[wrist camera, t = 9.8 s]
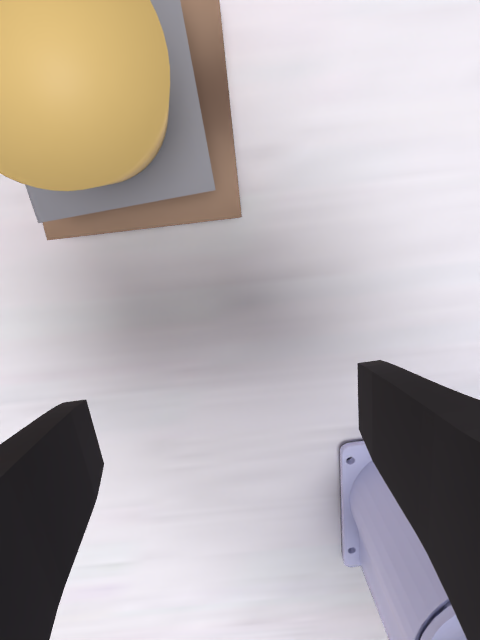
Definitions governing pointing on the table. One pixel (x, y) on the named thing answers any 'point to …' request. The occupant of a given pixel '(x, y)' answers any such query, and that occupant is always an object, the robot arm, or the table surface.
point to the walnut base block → (216, 116)
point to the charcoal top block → (174, 155)
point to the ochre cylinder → (81, 91)
